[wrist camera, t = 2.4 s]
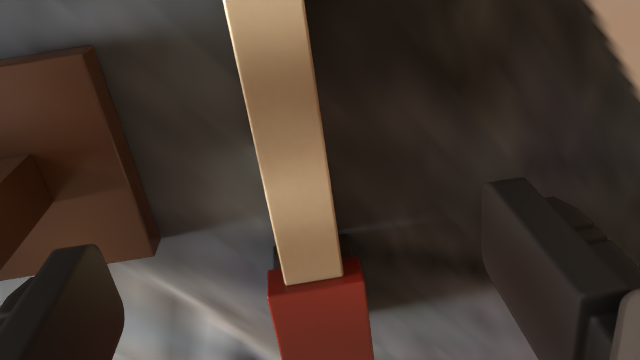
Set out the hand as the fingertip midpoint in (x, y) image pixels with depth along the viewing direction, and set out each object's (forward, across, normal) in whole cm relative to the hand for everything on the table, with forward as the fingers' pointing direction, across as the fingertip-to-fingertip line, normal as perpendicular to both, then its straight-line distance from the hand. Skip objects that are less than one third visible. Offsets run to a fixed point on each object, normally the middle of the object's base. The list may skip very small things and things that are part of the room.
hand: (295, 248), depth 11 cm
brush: (+9, 0, +1) cm, 9 cm away
